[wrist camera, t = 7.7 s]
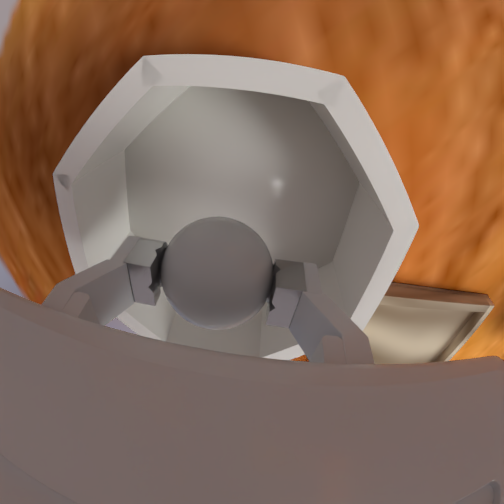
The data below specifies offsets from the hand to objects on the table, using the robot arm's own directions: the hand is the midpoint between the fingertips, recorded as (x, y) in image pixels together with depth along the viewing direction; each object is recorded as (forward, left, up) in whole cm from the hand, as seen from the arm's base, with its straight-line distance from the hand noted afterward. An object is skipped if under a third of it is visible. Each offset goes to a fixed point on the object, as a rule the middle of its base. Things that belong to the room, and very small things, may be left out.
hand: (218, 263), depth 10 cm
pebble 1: (0, 0, -2) cm, 2 cm away
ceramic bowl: (0, 0, -6) cm, 6 cm away
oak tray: (+13, +16, -6) cm, 21 cm away
